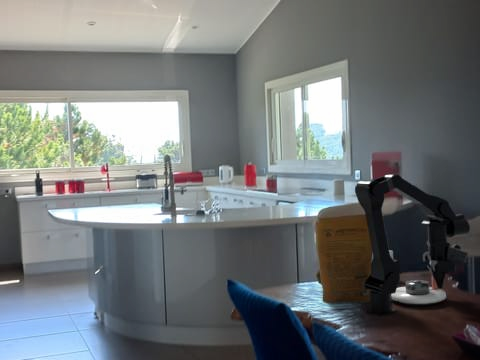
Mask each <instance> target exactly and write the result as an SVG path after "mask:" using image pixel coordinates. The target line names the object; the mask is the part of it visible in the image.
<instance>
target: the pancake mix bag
mask: <svg viewBox="0 0 480 360" xmlns="http://www.w3.org/2000/svg"><path fill="white" fill-rule="evenodd" d="M314 234H315V247H316V248H315V250H316V255H317V262H318V263H317V264H318V268H319V269H318V270H320V276H321V283H322V285H321V287H322V292H323V293H322V294H323V295H322V301H323V302H325V303H330V304H342V303H346V304H348V303H368V302H370V292H371V291H370V290H367V289H366V288H365V285H364V283H365V281H366V280H367V278H368V277H369V276H370V274H371V263H372V255H373V252H372V247H371V241H370V236H369V231H368V225H367V220H366V215H365V213H364V214H352V215H343V216H342V215H341V216H332V217H320V218H318V221H315V222H314Z"/></svg>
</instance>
